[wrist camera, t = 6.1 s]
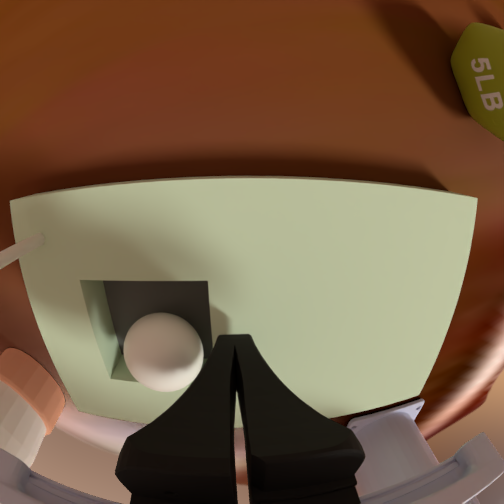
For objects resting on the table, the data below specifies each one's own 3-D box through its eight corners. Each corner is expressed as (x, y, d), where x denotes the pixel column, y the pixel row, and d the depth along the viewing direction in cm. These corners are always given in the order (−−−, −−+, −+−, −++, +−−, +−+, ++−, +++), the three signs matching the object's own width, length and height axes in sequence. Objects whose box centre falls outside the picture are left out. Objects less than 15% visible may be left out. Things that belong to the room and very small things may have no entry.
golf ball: (161, 324, 16) (218, 358, 14) (121, 373, 13) (179, 414, 12) (150, 283, 13) (219, 322, 12) (96, 340, 10) (166, 395, 9)
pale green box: (404, 374, 17) (465, 465, 8) (90, 388, 16) (45, 494, 6) (449, 191, 13) (585, 236, 4) (37, 193, 11) (-106, 246, 2)
